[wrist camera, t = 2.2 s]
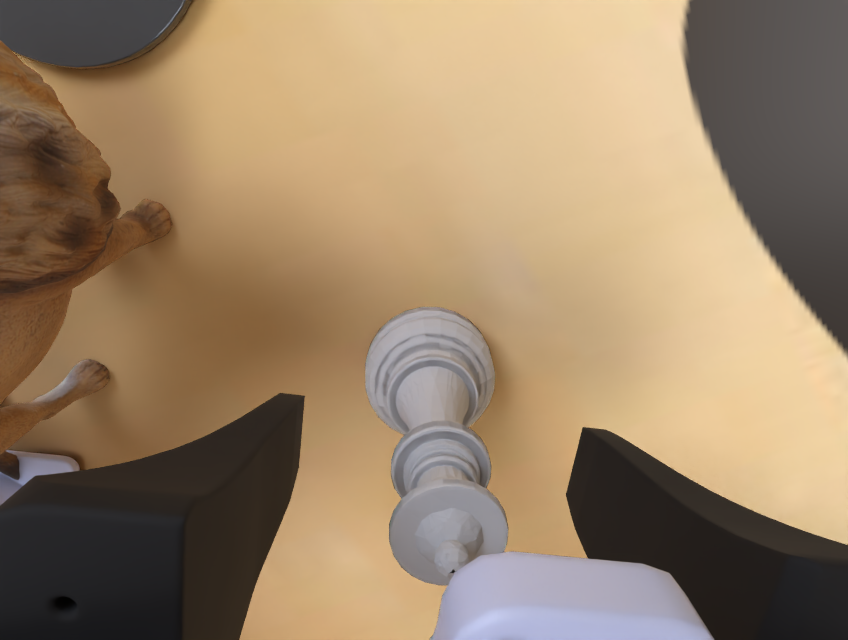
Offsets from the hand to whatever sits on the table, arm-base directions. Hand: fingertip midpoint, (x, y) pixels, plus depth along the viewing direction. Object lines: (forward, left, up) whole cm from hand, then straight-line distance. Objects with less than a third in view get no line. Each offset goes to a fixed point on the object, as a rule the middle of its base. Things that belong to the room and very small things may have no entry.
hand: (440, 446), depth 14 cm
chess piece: (0, 0, -6) cm, 6 cm away
